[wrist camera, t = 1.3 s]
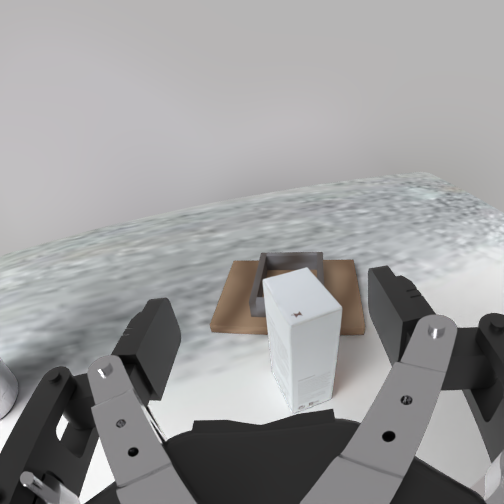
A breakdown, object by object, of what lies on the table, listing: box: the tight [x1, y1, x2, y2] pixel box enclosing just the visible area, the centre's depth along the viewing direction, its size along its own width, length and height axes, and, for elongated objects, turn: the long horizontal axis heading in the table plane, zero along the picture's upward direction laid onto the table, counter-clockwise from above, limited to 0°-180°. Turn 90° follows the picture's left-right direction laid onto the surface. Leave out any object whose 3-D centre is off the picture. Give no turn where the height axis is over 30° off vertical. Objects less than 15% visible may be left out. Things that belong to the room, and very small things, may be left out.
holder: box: [210, 252, 365, 335], centre depth 40 cm, size 18×14×4 cm
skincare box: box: [263, 267, 342, 413], centre depth 26 cm, size 6×4×12 cm
